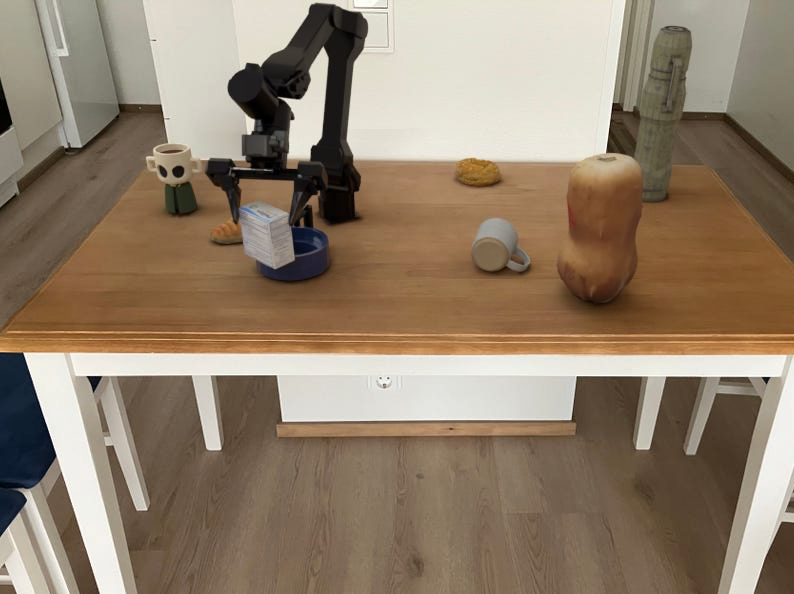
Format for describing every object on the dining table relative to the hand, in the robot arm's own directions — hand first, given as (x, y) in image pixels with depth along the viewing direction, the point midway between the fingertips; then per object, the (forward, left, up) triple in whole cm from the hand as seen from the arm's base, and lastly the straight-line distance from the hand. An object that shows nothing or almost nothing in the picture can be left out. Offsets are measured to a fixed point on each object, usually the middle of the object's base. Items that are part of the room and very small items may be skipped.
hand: (263, 224), depth 124 cm
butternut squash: (-48, +27, -13) cm, 57 cm away
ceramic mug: (-41, +9, -13) cm, 44 cm away
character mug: (+3, -43, -13) cm, 46 cm away
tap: (-12, -13, -13) cm, 22 cm away
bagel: (-61, -29, -13) cm, 69 cm away
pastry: (-3, -25, -13) cm, 29 cm away
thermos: (-90, -4, -13) cm, 91 cm away
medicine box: (-1, -1, -7) cm, 7 cm away
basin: (-8, -9, -13) cm, 18 cm away
